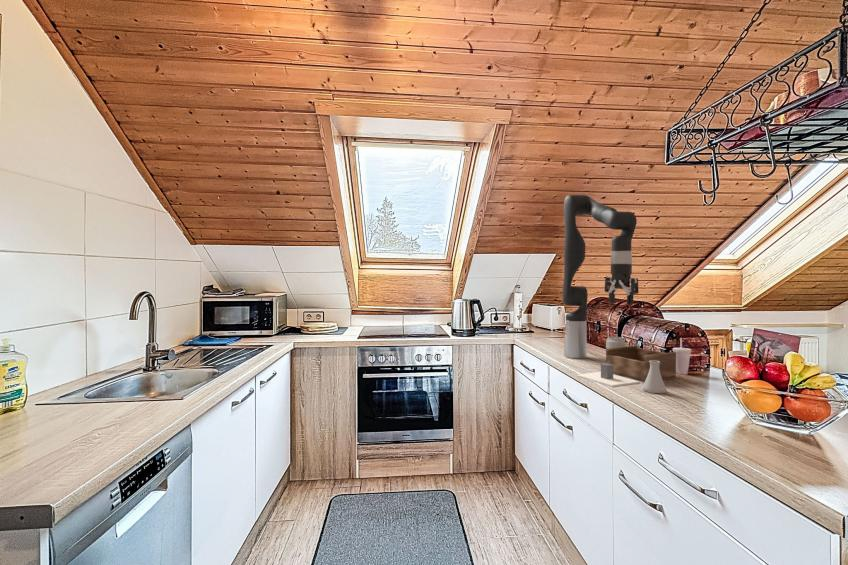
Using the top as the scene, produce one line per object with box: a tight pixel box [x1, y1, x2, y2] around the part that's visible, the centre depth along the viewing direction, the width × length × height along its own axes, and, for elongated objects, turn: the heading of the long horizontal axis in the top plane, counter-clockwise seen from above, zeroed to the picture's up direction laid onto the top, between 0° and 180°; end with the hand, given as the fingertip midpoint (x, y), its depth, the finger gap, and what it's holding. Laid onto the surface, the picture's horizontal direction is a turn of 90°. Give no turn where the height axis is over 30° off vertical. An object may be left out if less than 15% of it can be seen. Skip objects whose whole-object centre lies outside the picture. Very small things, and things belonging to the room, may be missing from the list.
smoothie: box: [672, 337, 692, 376], centre depth 167 cm, size 6×6×14 cm
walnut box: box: [605, 345, 677, 383], centre depth 165 cm, size 18×16×10 cm
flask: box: [641, 360, 668, 394], centre depth 142 cm, size 7×7×10 cm
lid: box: [576, 362, 641, 388], centre depth 158 cm, size 17×13×6 cm
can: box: [605, 336, 626, 349], centre depth 183 cm, size 8×8×12 cm
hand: (620, 304), depth 168 cm, fingers open, 8 cm apart
